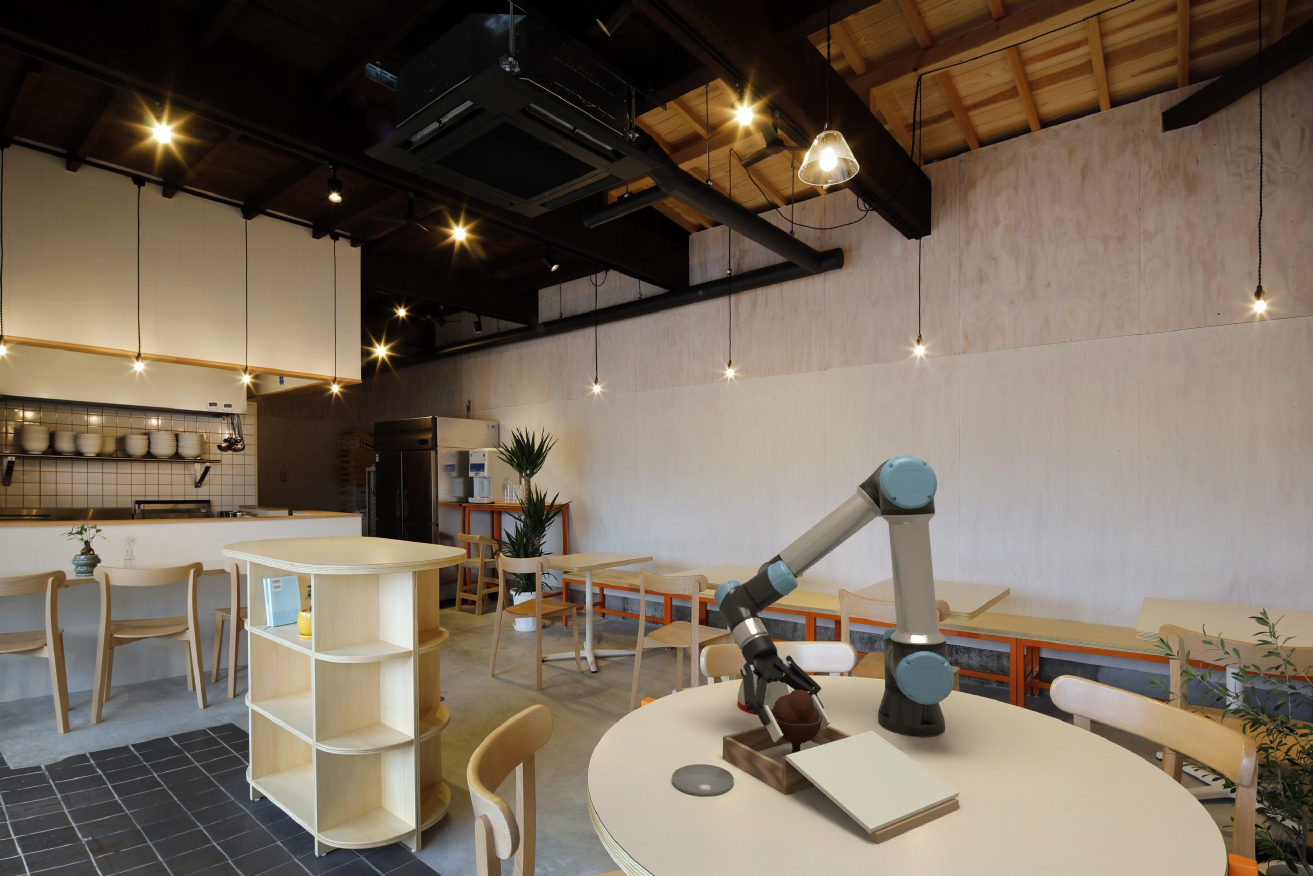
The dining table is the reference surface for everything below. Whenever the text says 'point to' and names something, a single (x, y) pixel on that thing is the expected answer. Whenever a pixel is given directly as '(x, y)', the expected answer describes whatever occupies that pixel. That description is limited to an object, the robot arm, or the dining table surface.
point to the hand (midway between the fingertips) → (803, 732)
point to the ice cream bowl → (797, 718)
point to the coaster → (702, 780)
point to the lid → (876, 784)
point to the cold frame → (780, 777)
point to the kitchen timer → (771, 695)
